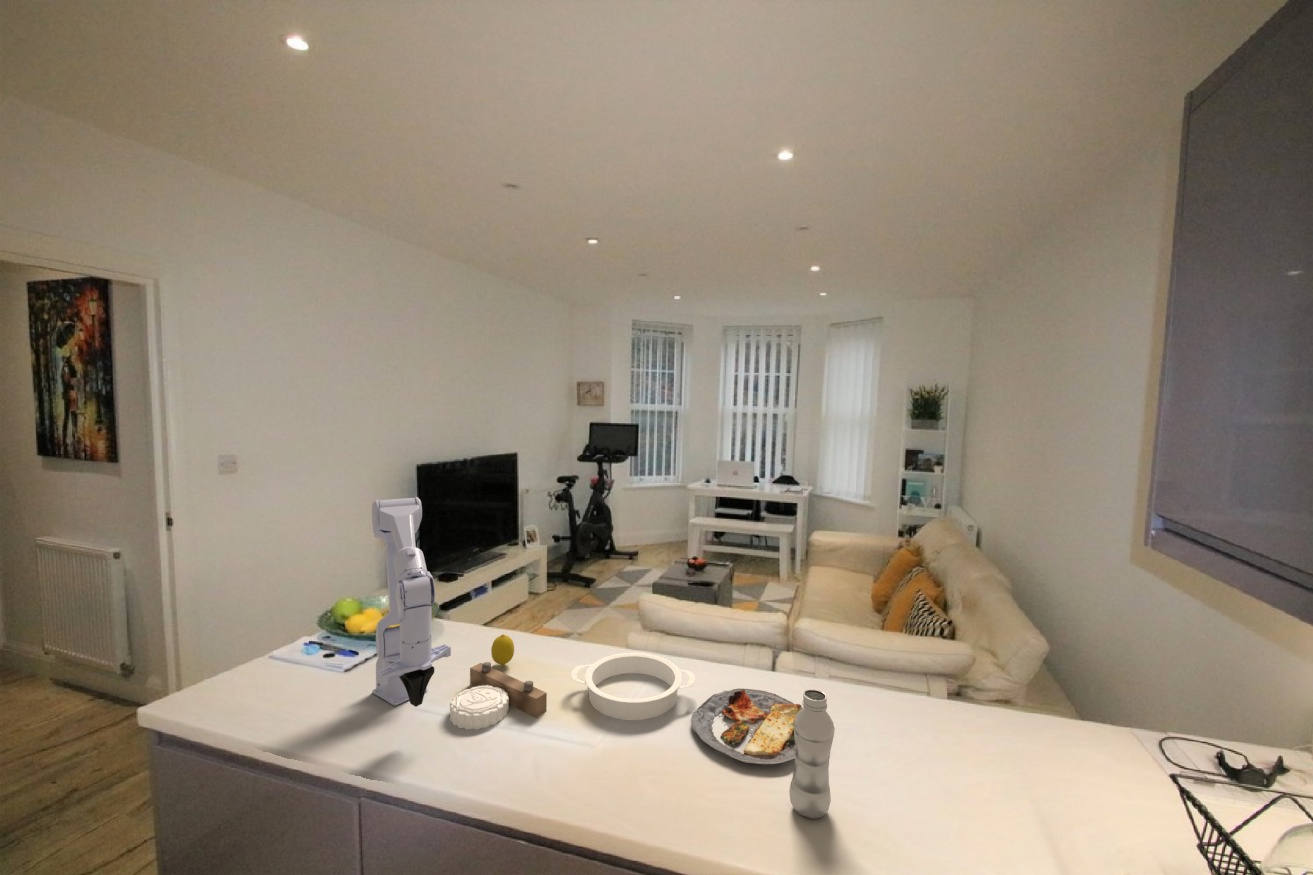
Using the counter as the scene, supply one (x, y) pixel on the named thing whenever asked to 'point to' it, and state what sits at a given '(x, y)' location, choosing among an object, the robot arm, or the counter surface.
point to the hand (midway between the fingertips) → (416, 703)
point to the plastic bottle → (812, 756)
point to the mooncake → (479, 707)
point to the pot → (633, 664)
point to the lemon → (502, 649)
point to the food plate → (750, 724)
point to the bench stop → (510, 688)
